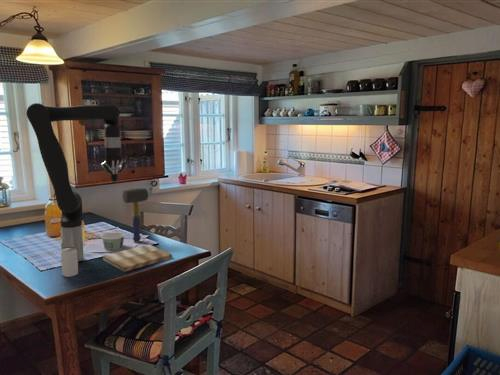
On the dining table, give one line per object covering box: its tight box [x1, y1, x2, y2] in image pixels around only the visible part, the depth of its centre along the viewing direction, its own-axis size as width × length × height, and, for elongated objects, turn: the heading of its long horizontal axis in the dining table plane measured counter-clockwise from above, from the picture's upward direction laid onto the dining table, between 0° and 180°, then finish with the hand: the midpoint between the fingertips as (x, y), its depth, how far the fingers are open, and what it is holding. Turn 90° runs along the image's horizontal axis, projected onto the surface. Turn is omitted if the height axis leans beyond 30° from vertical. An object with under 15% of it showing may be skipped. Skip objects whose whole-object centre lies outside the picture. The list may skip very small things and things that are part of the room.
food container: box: [100, 231, 126, 251], centre depth 217 cm, size 12×12×6 cm
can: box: [60, 246, 79, 278], centre depth 179 cm, size 6×6×12 cm
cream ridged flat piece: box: [102, 244, 161, 266], centre depth 204 cm, size 26×10×2 cm, turn 136°
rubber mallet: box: [122, 187, 149, 243], centre depth 224 cm, size 12×8×30 cm, turn 129°
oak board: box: [112, 248, 173, 273], centre depth 197 cm, size 26×10×2 cm, turn 136°
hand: (114, 181), depth 202 cm, fingers closed
